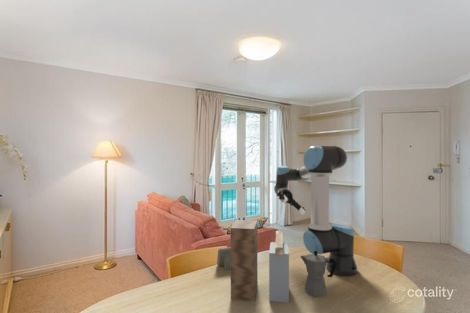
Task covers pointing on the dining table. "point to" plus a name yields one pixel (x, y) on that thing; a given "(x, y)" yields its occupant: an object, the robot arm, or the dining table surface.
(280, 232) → the beech bar
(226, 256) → the digital clock
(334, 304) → the dining table surface
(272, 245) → the white rectangular block
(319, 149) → the robot arm
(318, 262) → the coffeepot
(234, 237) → the walnut plinth
